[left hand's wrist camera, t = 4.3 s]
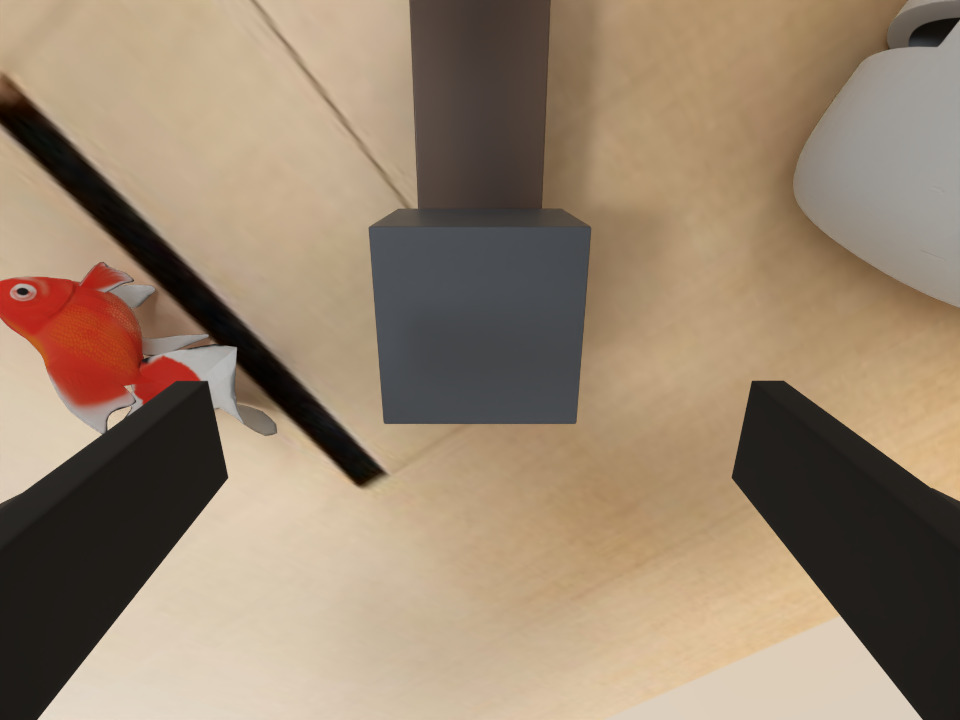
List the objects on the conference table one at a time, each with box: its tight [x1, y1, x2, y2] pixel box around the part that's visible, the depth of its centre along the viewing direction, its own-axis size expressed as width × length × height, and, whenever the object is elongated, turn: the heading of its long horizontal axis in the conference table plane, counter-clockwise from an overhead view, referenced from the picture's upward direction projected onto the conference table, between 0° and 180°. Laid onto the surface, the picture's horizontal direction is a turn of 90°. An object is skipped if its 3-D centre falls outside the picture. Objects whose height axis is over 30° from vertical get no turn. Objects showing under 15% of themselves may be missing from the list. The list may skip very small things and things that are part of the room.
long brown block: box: [409, 0, 551, 209], centre depth 26 cm, size 6×28×6 cm, turn 0°
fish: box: [0, 262, 277, 436], centre depth 30 cm, size 11×16×10 cm
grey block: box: [369, 209, 591, 424], centre depth 23 cm, size 8×8×7 cm
